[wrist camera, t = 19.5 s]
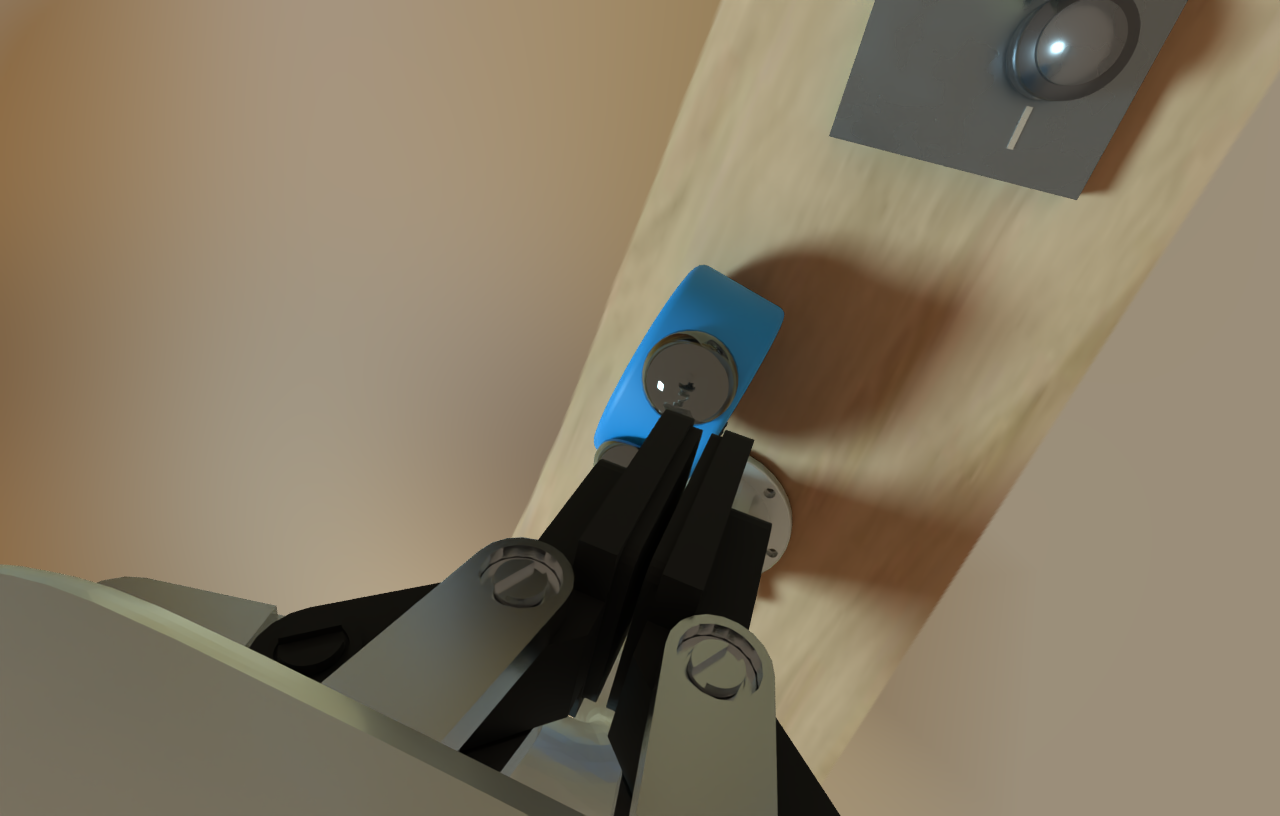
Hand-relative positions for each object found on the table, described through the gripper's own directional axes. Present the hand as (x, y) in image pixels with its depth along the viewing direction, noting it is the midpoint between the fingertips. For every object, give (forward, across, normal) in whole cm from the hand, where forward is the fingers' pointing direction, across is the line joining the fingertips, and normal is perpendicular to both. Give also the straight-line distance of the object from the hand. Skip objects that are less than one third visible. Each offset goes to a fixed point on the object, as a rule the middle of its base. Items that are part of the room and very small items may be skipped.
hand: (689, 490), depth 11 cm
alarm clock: (+31, +4, +10) cm, 33 cm away
